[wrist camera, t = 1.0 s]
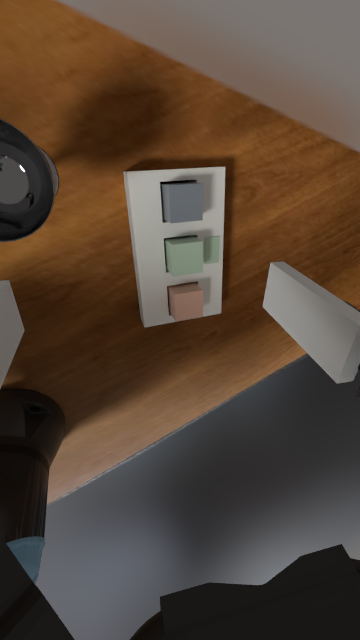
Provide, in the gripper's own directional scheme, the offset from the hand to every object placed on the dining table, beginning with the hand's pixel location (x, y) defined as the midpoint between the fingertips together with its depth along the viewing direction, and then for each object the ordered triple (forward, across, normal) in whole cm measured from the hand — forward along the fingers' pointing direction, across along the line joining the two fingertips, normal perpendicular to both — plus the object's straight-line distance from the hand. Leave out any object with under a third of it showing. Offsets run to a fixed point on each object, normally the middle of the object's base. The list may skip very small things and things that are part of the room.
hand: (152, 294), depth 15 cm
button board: (+26, -7, +6) cm, 28 cm away
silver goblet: (+25, +11, -3) cm, 28 cm away
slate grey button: (+24, -7, -1) cm, 25 cm away
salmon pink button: (+23, -7, +12) cm, 27 cm away
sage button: (+24, -7, +6) cm, 25 cm away
